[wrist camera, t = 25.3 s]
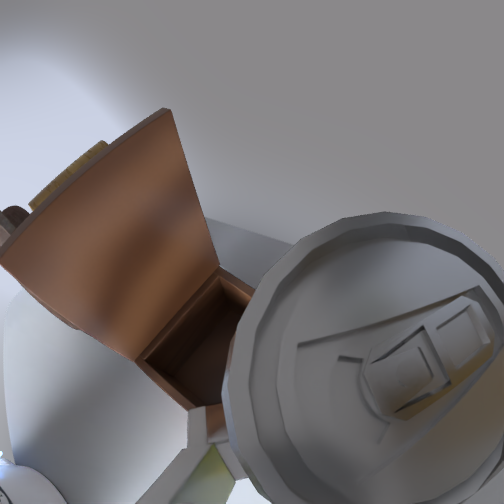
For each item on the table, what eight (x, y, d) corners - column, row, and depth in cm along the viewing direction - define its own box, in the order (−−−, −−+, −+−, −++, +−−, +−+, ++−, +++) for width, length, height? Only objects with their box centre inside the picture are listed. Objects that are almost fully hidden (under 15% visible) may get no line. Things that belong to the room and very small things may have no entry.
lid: (171, 109, 14) (124, 99, 16) (-4, 262, 9) (-17, 219, 11) (220, 264, 27) (182, 240, 29) (133, 362, 22) (100, 326, 24)
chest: (337, 373, 29) (358, 354, 22) (272, 460, 24) (273, 473, 17) (230, 303, 35) (218, 265, 27) (165, 378, 30) (132, 360, 23)
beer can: (337, 347, 15) (444, 176, 5) (376, 434, 12) (571, 405, 2) (241, 383, 14) (164, 261, 4) (277, 476, 11) (294, 609, 1)
